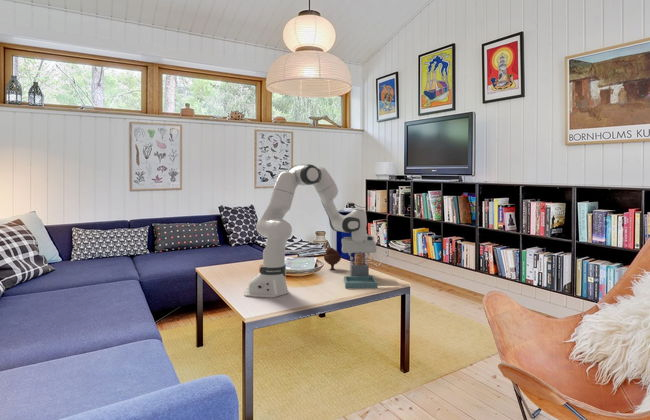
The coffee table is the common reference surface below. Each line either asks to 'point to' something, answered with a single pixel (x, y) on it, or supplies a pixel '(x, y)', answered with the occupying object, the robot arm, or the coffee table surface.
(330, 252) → the ice cream bowl
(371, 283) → the tray
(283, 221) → the robot arm
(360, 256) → the peg
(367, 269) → the grey open square box
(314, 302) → the coffee table surface
